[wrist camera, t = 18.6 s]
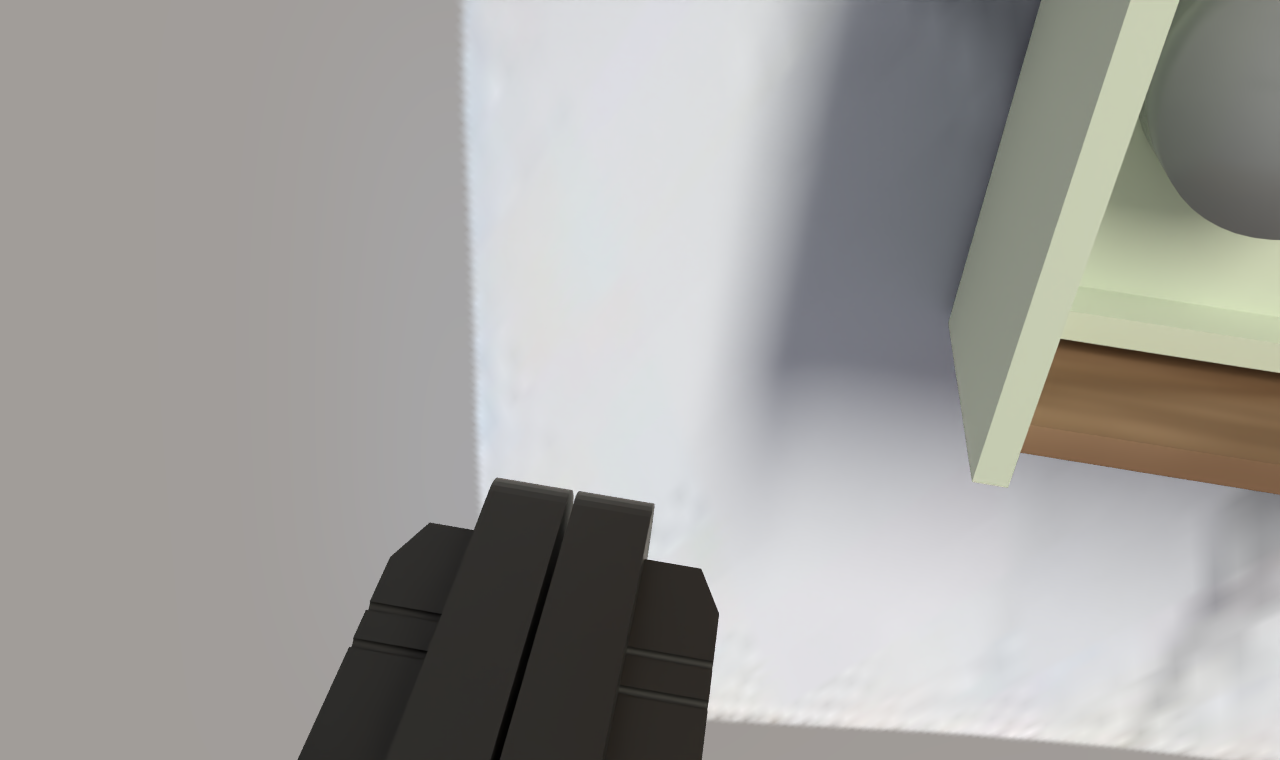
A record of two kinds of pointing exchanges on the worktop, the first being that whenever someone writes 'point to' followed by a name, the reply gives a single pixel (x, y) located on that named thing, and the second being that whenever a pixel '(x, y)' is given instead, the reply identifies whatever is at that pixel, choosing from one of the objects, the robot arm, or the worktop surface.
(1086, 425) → the cubby
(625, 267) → the worktop surface
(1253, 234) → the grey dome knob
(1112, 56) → the tray
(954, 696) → the worktop surface
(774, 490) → the worktop surface
